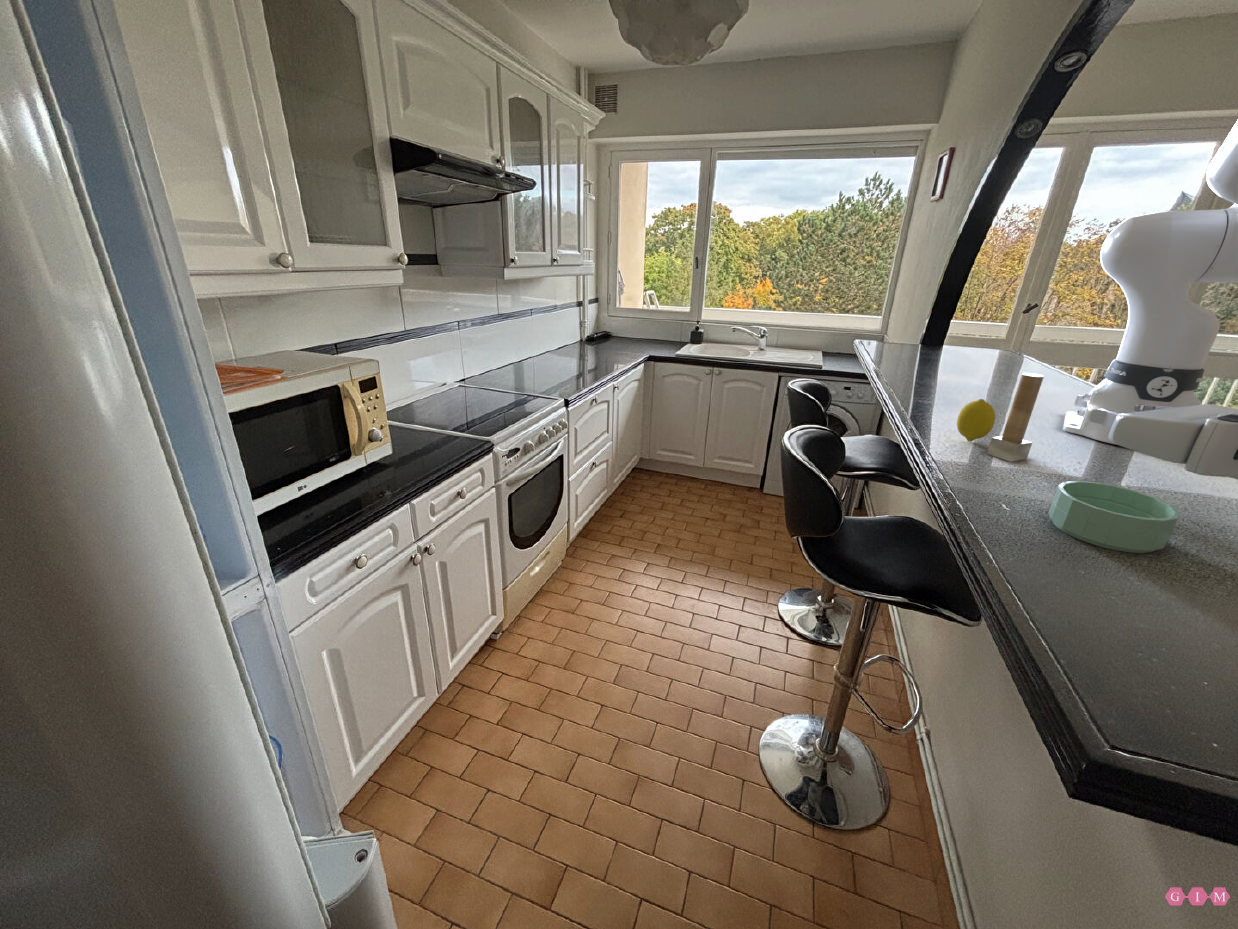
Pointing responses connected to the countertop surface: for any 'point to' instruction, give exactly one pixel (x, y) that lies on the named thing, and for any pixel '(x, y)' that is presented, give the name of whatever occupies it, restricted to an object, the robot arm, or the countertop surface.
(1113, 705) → the countertop surface
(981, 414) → the lemon
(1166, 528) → the bowl
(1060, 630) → the countertop surface
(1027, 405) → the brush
